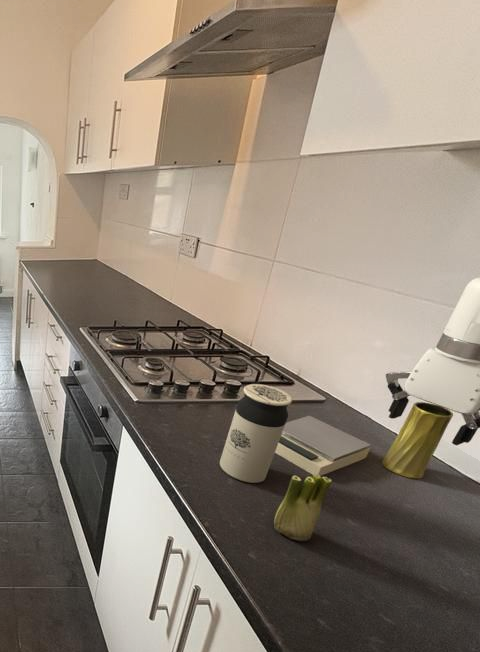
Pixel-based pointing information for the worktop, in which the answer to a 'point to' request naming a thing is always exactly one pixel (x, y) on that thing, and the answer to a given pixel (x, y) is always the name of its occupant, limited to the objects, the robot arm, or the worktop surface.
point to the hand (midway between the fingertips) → (424, 429)
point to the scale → (313, 457)
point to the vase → (417, 440)
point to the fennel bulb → (301, 507)
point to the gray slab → (323, 438)
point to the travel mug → (255, 432)
